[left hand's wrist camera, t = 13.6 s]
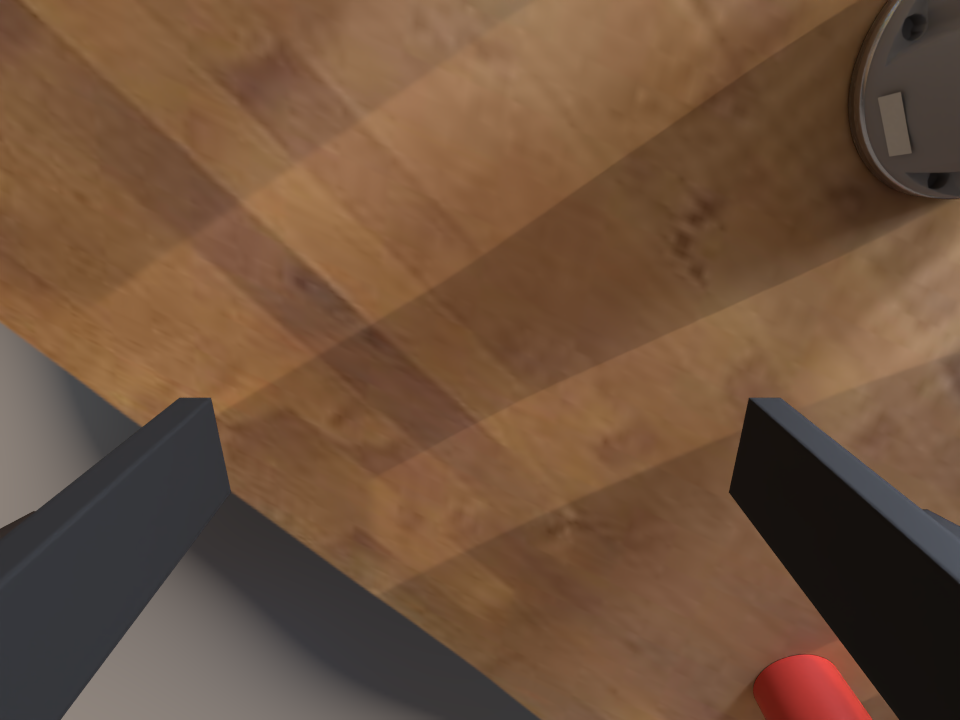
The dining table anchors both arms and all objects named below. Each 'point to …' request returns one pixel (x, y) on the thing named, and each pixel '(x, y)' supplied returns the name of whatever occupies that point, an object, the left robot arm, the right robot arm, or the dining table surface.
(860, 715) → the can
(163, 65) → the dining table surface
